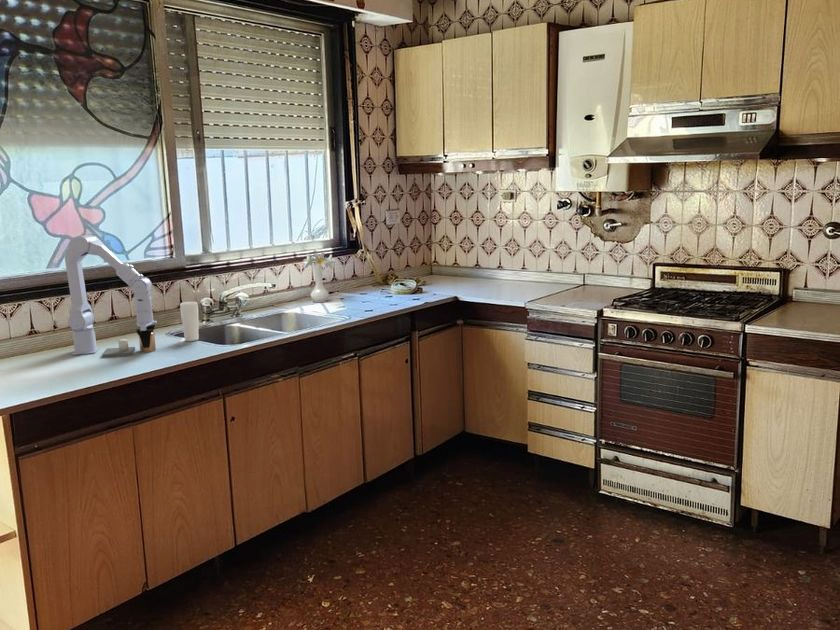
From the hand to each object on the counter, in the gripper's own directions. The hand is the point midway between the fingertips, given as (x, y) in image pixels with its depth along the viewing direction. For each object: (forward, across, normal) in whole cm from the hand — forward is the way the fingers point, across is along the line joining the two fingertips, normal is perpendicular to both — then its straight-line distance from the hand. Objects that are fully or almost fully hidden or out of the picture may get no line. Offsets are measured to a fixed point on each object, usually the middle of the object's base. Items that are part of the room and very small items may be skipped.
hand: (147, 345), depth 279 cm
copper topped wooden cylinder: (+2, 0, 0) cm, 2 cm away
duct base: (+2, -2, +10) cm, 10 cm away
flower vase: (+2, +87, -73) cm, 114 cm away
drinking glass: (+2, +13, -15) cm, 20 cm away
